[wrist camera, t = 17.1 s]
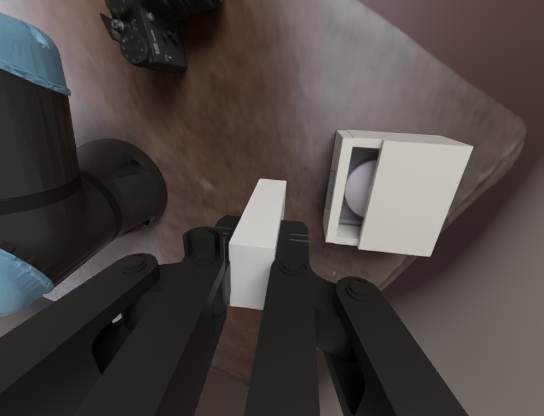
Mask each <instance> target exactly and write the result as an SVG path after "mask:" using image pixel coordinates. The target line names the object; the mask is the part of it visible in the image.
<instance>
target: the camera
mask: <svg viewBox="0 0 544 416" xmlns="http://www.w3.org/2000/svg"><path fill="white" fill-rule="evenodd" d="M105 2H106V5H107V8H108V9H109V10H110V12H111V15H112V19H110V18H109V17H107V16H105V15H104V14H102V13H100V16H101V18H102V20H103V22H104V24H105V26H106V28H107V30H108V32H109V34H110V36H111V38H112V39H113V40H115V41H118V42H119V43H120V48H121V52H122V55H123V56H124V58H125V59H126V60H127V61H128V62H129V63H131V64H133V65H134V66H138V67H144V68H147V69H151V70H154V71H164V72H173V73H177V72H181V71H184V70H186V69H187V63H186V60H185V55H184V51H183V47H182V43H181V40H180V37H179V31H178V27H177V21H178V20H181V19H182V20H184V19H187V15H192V14H195V13H198V12H201V11H207V10H211V9H214V8H215V7H217V6H220V5H222V4H223V3H224V0H105Z"/></svg>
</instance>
